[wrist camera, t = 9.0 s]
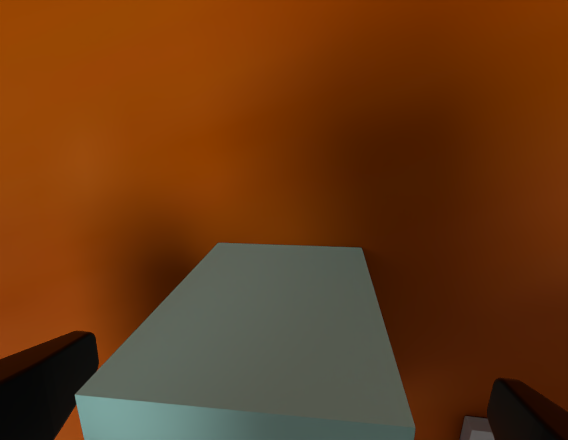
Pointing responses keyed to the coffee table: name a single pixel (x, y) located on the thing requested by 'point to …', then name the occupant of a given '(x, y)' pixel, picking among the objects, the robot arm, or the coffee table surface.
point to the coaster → (476, 429)
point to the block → (256, 355)
